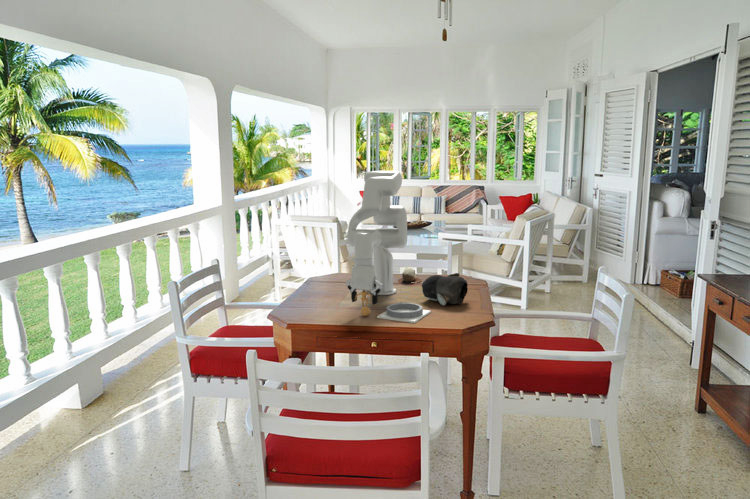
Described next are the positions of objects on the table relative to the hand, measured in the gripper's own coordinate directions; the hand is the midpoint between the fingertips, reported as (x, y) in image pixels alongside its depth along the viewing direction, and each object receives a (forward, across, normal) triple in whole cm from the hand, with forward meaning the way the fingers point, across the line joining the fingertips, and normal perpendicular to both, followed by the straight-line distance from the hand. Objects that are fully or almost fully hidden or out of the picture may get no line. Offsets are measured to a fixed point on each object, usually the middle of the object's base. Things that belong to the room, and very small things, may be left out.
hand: (364, 302), depth 238 cm
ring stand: (+6, +14, +10) cm, 18 cm away
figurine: (+6, 0, +1) cm, 6 cm away
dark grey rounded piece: (+6, +22, +36) cm, 43 cm away
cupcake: (+5, -11, +68) cm, 69 cm away
